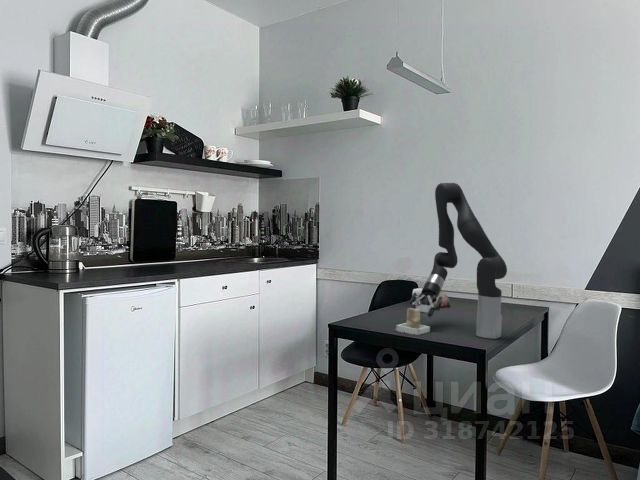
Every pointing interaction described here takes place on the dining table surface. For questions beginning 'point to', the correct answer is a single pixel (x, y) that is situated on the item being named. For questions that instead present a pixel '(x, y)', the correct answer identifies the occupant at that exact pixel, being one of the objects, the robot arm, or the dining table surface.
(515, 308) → the dining table surface
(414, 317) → the birch block
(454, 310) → the dining table surface
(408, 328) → the tray
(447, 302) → the bread
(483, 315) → the robot arm
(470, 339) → the dining table surface
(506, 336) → the dining table surface
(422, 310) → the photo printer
